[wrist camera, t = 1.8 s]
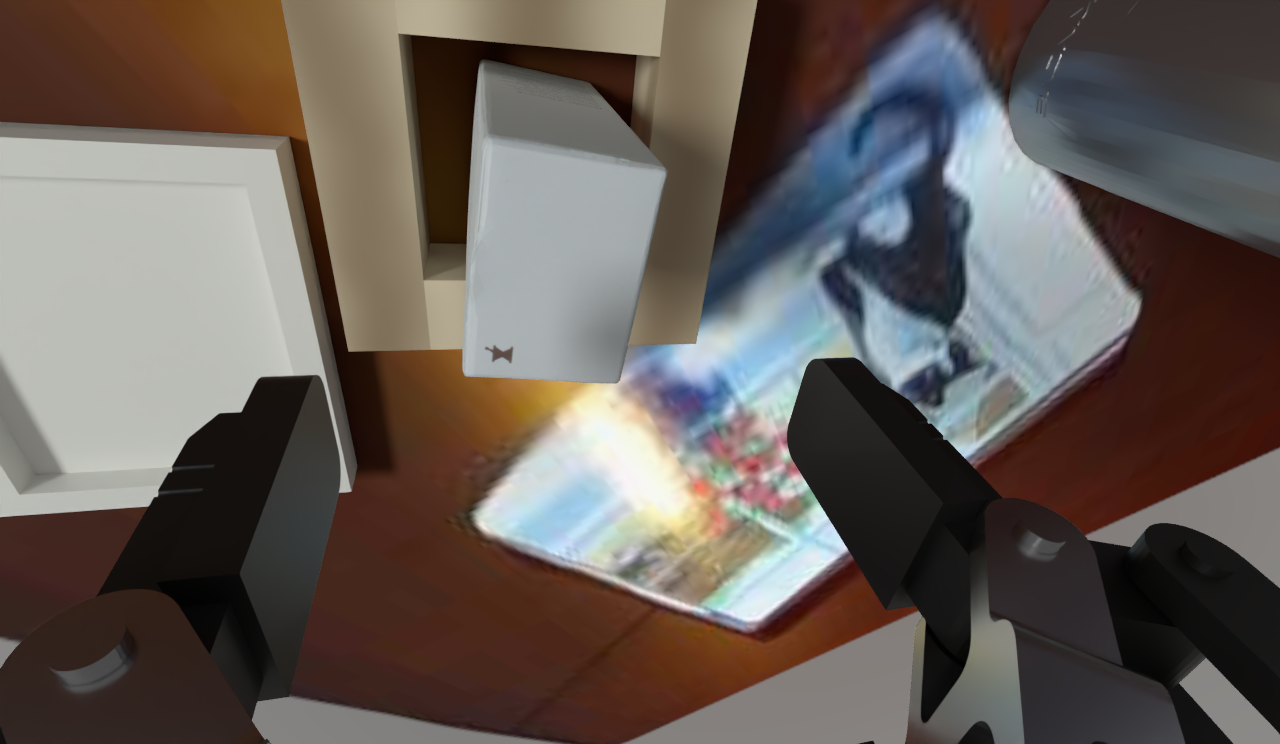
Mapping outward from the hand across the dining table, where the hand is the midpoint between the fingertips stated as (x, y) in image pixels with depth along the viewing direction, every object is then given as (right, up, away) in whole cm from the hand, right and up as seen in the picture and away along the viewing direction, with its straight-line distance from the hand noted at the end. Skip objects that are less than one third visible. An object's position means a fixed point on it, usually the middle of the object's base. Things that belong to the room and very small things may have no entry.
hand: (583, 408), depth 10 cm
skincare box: (-3, +10, +14) cm, 17 cm away
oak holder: (-3, +9, +14) cm, 17 cm away
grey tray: (-19, +2, +14) cm, 24 cm away
